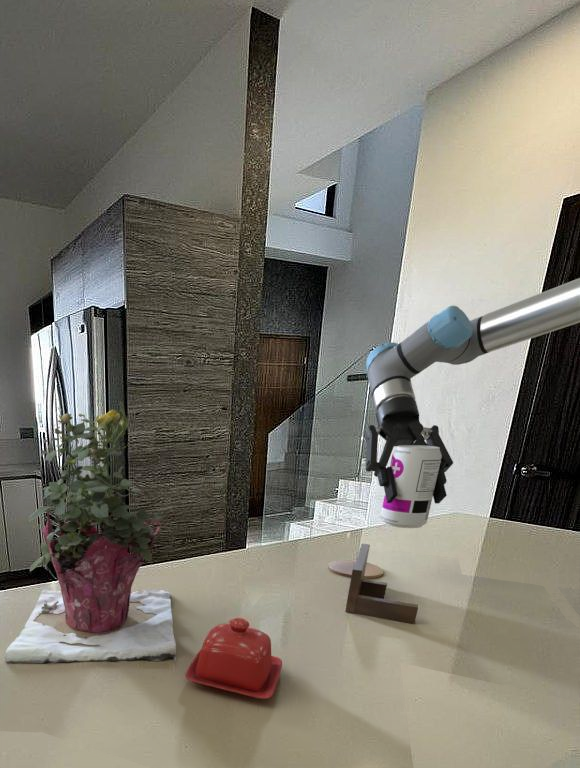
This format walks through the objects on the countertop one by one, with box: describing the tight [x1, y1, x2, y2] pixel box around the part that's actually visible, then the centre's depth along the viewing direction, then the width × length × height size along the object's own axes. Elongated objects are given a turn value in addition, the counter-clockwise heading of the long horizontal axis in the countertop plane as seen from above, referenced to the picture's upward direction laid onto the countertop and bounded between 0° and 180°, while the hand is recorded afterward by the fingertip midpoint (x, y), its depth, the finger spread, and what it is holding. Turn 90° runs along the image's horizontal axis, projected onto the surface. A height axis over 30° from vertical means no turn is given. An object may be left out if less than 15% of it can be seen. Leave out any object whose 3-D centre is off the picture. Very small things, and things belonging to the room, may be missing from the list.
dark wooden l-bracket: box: [344, 543, 419, 625], centre depth 88 cm, size 11×18×8 cm, turn 151°
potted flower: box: [4, 401, 177, 664], centre depth 74 cm, size 27×25×35 cm
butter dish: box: [184, 617, 283, 700], centre depth 64 cm, size 12×12×8 cm
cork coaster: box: [327, 559, 384, 580], centre depth 105 cm, size 11×11×1 cm
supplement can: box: [379, 445, 442, 529], centre depth 93 cm, size 8×8×15 cm
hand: (416, 499), depth 91 cm, fingers closed on supplement can, 8 cm apart
